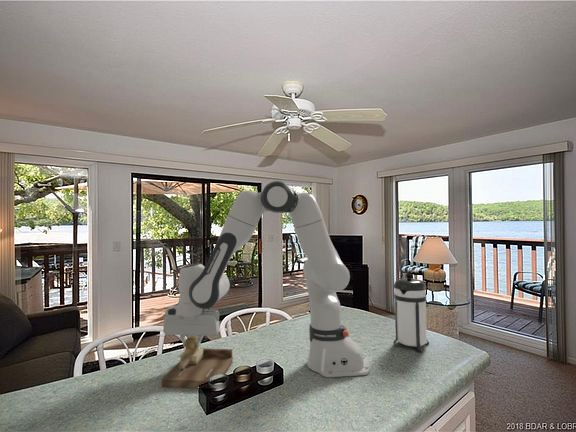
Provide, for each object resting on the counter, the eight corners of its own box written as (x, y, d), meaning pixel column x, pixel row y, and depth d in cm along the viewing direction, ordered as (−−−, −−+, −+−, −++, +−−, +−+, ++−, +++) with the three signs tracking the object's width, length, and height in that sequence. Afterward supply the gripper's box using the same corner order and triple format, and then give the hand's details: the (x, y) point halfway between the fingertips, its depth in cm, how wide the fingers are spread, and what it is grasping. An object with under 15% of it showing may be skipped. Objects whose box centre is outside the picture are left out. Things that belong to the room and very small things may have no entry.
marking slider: (203, 356, 111) (203, 335, 111) (189, 372, 100) (189, 347, 100) (187, 356, 112) (187, 334, 112) (172, 371, 100) (172, 347, 101)
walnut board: (232, 362, 112) (232, 349, 112) (215, 389, 94) (215, 373, 94) (186, 361, 114) (186, 347, 114) (161, 387, 96) (161, 371, 96)
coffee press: (440, 352, 117) (438, 276, 118) (399, 353, 118) (397, 276, 118) (421, 335, 135) (419, 269, 135) (386, 336, 135) (384, 269, 136)
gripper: (222, 306, 111) (222, 343, 111) (169, 305, 113) (169, 342, 113) (216, 311, 105) (216, 351, 104) (160, 310, 107) (161, 349, 107)
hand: (191, 346), depth 109 cm, fingers closed on marking slider, 3 cm apart
